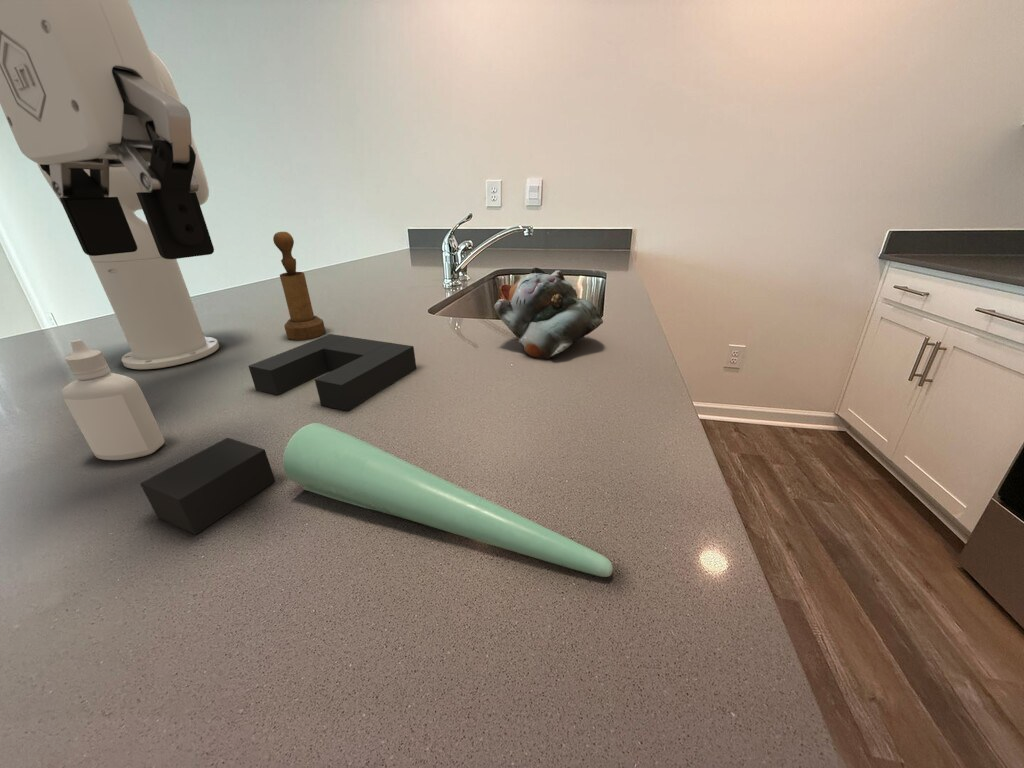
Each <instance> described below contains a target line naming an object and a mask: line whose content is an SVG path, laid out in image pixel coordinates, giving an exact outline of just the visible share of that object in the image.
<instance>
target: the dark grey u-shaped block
mask: <svg viewBox="0 0 1024 768" xmlns="http://www.w3.org/2000/svg"><path fill="white" fill-rule="evenodd" d="M247 367H248V369H249V373H250V377H251V379H252V382H253V385H254V389H255V391H259V392H264V393H267V394H273V395H276V396H279V395H281V394H283V393H286V392H287V391H290V390H292V389H294V388H296V387H297V386H300V385H302V384H304V383H306V382H308V381H310V380H312V379H314V378H315V379H314V382H315V387H316V390H317V394H318V399H319V401H320V402H319V403H320V405H321V406H324V407H328V408H332V409H337V410H341V411H344V412H348V411H349V410H351V409H353V408H355V407H356V406H358V405H359V404H362V402H364V401H366V400H367V399H369V398H371V397H372V396H374V395H376V394H377V393H379V392H380V391H383V390H384V389H385V388H387V387H389V386H391V385H392V384H393V383H395V382H396V381H398V380H400V379H401V378H403V377H405V376H406V375H408V374H409V373H411V372H413V371H415V370H416V369H417V362H416V354H415V348H414V345H408V344H401V343H394V342H388V341H381V340H375V339H367V338H360V337H355V336H354V337H353V336H349V335H340V334H334V333H329V334H326V335H324V336H320V337H319V338H316V339H314V340H311V341H309V342H306V343H303V344H301V345H299V346H296V347H293V348H290V349H288V350H285V351H283V352H281V353H278V354H275V355H273V356H270V357H267V358H265V359H262V360H260V361H257V362H255V363H252V364H249V365H248V366H247ZM329 371H330V372H329ZM322 374H323V375H322ZM318 376H319V377H318Z"/></svg>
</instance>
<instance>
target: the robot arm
mask: <svg viewBox="0 0 1024 768" xmlns="http://www.w3.org/2000/svg"><path fill="white" fill-rule="evenodd" d="M167 67H168V66H166V64H165V63H164V62H163V60H162V59H161V58H160V57H159V56H158V54H156V53H155V52H154V51H153V50H151V49H150V48H149V45H148V43H147V41H146V37H145V35H144V33H143V30H142V28H141V26H140V23H139V21H138V18H137V17H136V13H135V11H134V9H133V7H132V4H131V2H130V0H0V107H1V110H2V112H3V114H4V117H5V118H6V122H7V123H8V126H9V128H10V131H11V132H12V135H13V137H14V140H15V142H16V144H17V146H18V148H19V150H20V152H21V153H22V155H24V156H25V157H26V159H29V160H30V161H32V162H33V163H35V164H36V165H37V166H38V168H39V171H40V172H41V174H42V175H43V178H44V179H45V181H46V182H47V184H48V186H50V188H51V189H52V191H53V193H54V194H55V196H56V197H57V200H58V201H59V202H60V204H61V205H62V208H63V209H64V212H65V214H66V216H67V219H68V220H69V223H70V225H71V227H72V230H73V232H74V234H75V236H76V238H77V240H78V243H79V245H80V247H81V249H82V252H83V253H84V254H85V255H87V256H88V257H89V259H90V261H91V264H92V266H93V268H94V270H95V273H96V275H97V277H98V279H99V282H100V284H101V286H102V289H103V291H104V293H105V295H106V297H107V299H108V301H109V304H110V306H111V308H112V310H113V312H114V315H115V317H116V319H117V321H118V324H119V326H120V328H121V331H122V332H123V334H124V337H125V339H126V342H127V344H128V347H129V348H130V351H128V352H126V353H124V355H123V356H122V357H121V362H122V365H123V366H124V367H125V368H127V369H130V370H131V369H132V370H153V369H154V370H156V369H163V368H169V367H174V366H175V367H176V366H180V365H183V364H187V363H192V362H195V361H197V360H200V359H203V358H205V357H208V356H210V355H213V353H215V352H216V351H218V350H219V348H220V343H219V341H218V339H216V338H214V337H210V336H205V334H204V331H203V328H202V325H201V322H200V320H199V318H198V315H197V312H196V309H195V306H194V303H193V300H192V298H191V295H190V292H189V290H188V287H187V284H186V282H185V279H184V276H183V273H182V271H181V270H182V269H181V268H180V265H179V262H178V260H177V259H186V258H193V257H203V256H209V255H213V253H214V252H215V248H214V247H215V246H214V244H213V241H212V237H211V235H210V232H209V229H208V225H207V223H206V219H205V217H204V214H203V211H202V208H201V206H202V205H204V204H206V203H207V202H208V199H209V197H210V187H209V183H208V178H207V175H206V172H205V168H204V165H203V162H202V159H201V156H200V153H199V151H198V147H197V145H196V142H195V141H196V140H195V139H194V136H193V133H192V123H191V122H192V120H191V114H190V111H189V109H188V107H187V106H186V105H185V104H183V103H182V100H181V96H180V94H179V92H178V89H177V86H176V83H175V81H174V79H173V77H172V75H171V73H170V71H169V69H168V68H167ZM141 210H142V212H143V214H144V217H145V219H143V218H142V217H140V216H139V215H138V214H137V213H136V212H137V211H141Z"/></svg>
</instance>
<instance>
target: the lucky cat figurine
mask: <svg viewBox="0 0 1024 768" xmlns="http://www.w3.org/2000/svg"><path fill="white" fill-rule="evenodd" d="M499 290H500V291H499V295H498V296H499V297H498V298H497V301H496V303H495V304H494V305H493V307H494V310H495V314H497V316H498V317H499V319H500V320H501V322H502V323H503V324H504V325H505V326H506V327H507V328H508V329H509V331H510V332H511V333H512V334H514V336H515V337H516V338H517V339H518V341H519V342H520V343H521V345H522V346H523V350H524V351H525V353H526V354H528V355H529V356H530V357H534V358H538V359H539V358H540V359H545V360H549V359H551V357H554V356H556V355H558V354H560V353H562V352H564V351H565V350H567V349H568V348H570V347H571V346H572V345H573V344H574V343H576V342H578V341H580V340H581V339H582V338H584V337H586V336H588V335H589V334H591V333H592V332H594V331H595V330H596V329H598V328H599V327H600V326H601V325H603V324H604V320H603V318H602V315H601V314H600V311H599V309H598V308H597V306H596V305H595V304H594V303H593V302H592V301H590V300H588V299H586V298H580V297H578V293H577V290H576V289H575V288H574V286H573V285H572V284H571V283H570V282H569V281H567V280H566V279H565V274H564V273H563V271H562V270H560V269H559V270H555V271H554V272H552V273H551V274H549V273H546V272H545V271H544V270H542V269H541V268H539V267H533V268H532V269H531V271H530V272H529V273H528V274H525V275H523V276H522V277H521V278H519V279H518V280H517V281H516V282H515V283H514V285H513V284H507V283H505V284H501V285H500V286H499Z"/></svg>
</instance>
